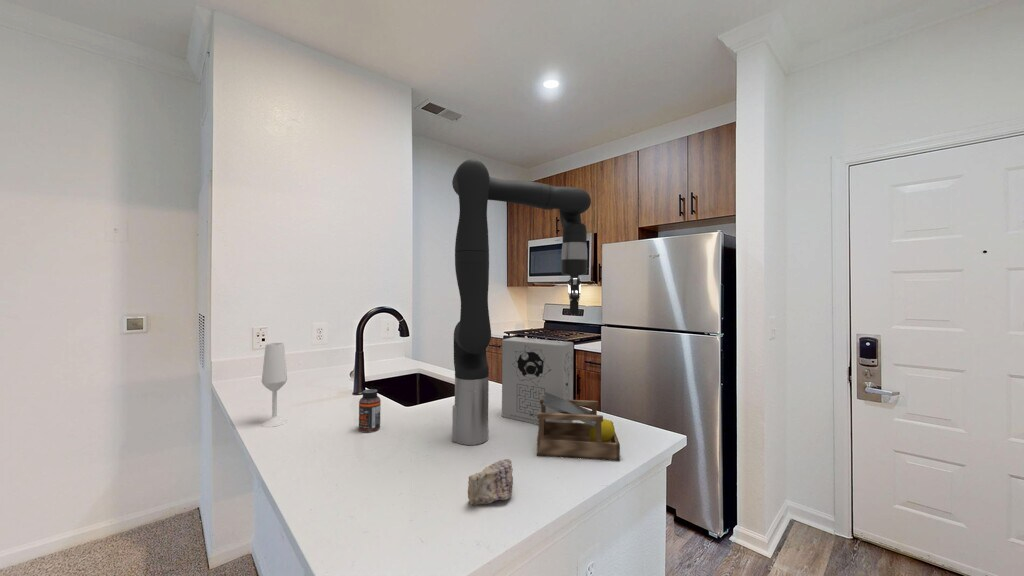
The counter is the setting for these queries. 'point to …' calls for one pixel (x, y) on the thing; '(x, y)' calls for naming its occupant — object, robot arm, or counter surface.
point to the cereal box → (534, 376)
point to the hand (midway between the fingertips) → (573, 313)
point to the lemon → (603, 431)
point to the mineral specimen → (491, 483)
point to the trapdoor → (566, 407)
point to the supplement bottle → (369, 411)
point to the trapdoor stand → (574, 435)
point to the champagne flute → (274, 377)
